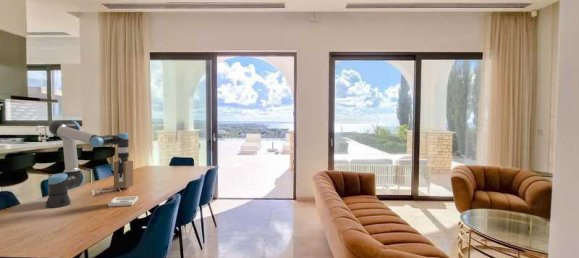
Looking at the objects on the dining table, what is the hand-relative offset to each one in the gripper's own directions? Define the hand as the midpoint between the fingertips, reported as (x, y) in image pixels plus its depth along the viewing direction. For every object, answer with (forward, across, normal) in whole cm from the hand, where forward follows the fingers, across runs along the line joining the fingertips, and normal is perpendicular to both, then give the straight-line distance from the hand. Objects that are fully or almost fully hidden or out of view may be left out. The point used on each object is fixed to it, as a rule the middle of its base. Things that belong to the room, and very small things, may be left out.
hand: (123, 180), depth 241 cm
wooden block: (+5, 0, 0) cm, 5 cm away
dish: (+19, 0, 0) cm, 19 cm away
